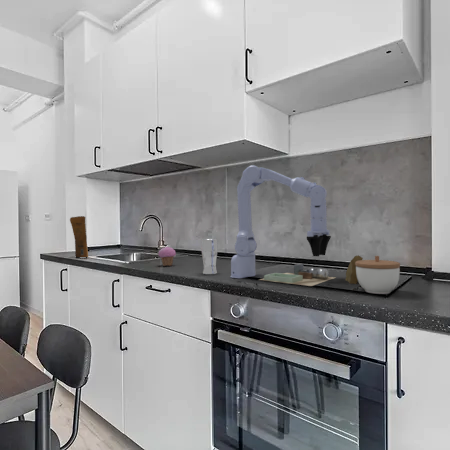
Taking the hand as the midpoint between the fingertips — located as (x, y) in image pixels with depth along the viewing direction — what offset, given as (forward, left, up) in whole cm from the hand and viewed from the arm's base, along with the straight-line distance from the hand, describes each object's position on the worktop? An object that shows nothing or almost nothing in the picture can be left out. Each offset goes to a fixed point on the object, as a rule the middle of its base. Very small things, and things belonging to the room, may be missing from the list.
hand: (319, 255), depth 123 cm
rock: (+11, +2, -10) cm, 15 cm away
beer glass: (-47, -8, -10) cm, 49 cm away
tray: (-10, -10, -9) cm, 17 cm away
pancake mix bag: (-168, -7, -10) cm, 168 cm away
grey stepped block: (-7, 0, -8) cm, 11 cm away
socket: (-4, 0, -9) cm, 10 cm away
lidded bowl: (+22, -6, -10) cm, 25 cm away
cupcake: (-83, -2, -10) cm, 84 cm away
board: (-7, -4, -9) cm, 12 cm away
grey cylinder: (-1, 0, -8) cm, 8 cm away
